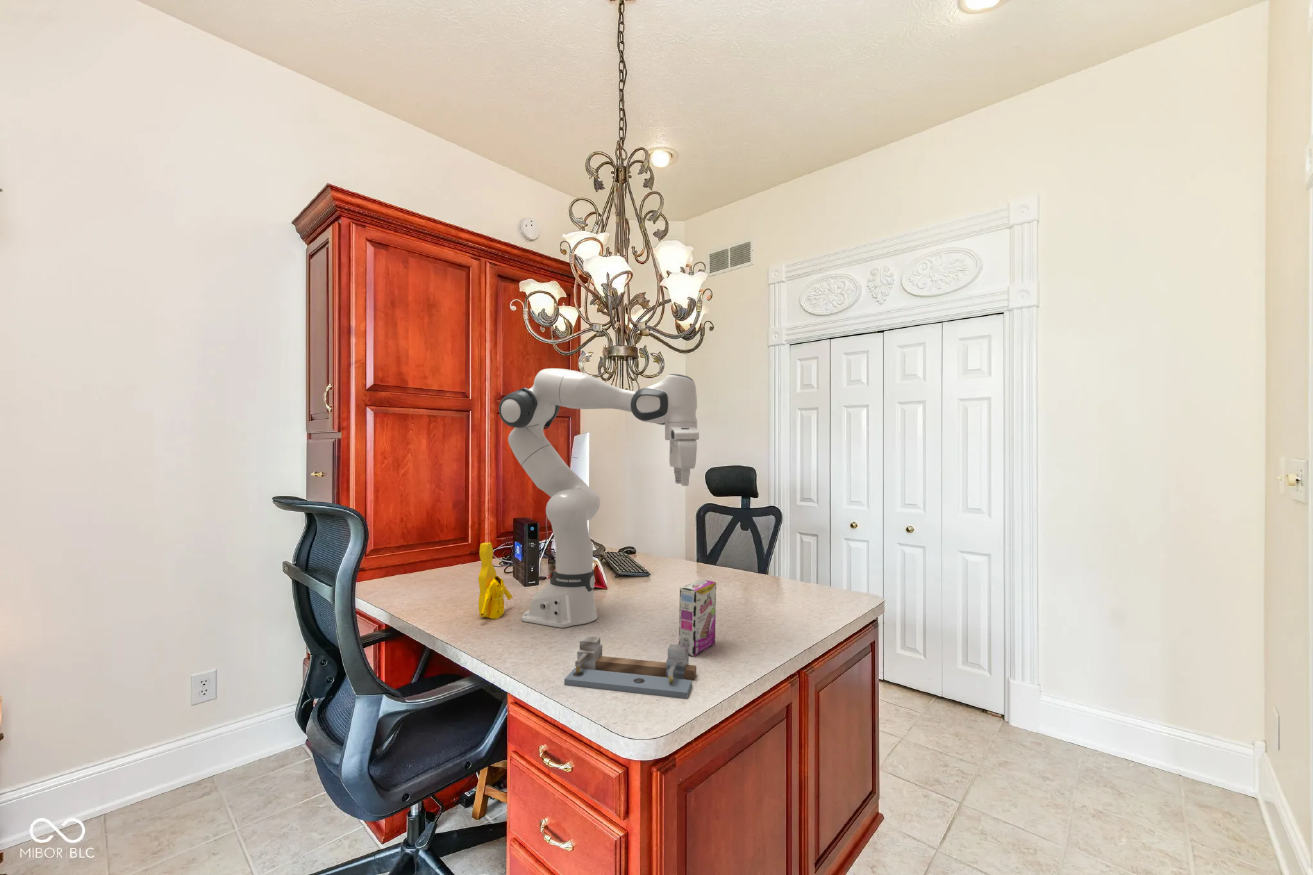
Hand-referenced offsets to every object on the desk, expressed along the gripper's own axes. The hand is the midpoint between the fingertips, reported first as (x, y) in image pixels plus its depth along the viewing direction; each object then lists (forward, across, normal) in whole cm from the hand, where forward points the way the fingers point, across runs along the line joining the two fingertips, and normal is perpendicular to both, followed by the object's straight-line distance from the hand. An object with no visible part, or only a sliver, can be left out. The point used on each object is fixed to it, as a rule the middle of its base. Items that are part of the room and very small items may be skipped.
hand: (681, 484), depth 145 cm
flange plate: (+41, +26, -17) cm, 52 cm away
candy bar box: (+42, +8, +2) cm, 42 cm away
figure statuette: (+41, -26, -54) cm, 73 cm away
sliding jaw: (+41, +25, -7) cm, 49 cm away
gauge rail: (+41, +22, -15) cm, 49 cm away
